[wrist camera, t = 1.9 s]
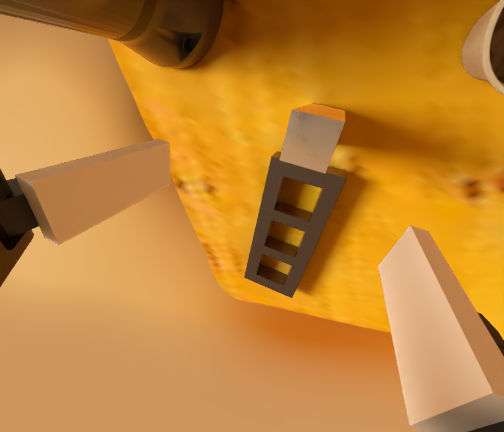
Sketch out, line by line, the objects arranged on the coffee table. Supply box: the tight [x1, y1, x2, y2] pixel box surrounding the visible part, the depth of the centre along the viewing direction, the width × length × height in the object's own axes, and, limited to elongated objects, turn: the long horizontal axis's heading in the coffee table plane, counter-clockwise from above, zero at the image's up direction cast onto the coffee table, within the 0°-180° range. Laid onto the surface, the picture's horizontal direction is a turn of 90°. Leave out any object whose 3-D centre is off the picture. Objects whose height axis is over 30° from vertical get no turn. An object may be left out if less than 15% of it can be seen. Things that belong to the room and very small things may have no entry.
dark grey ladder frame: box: [244, 152, 346, 298], centre depth 36 cm, size 25×10×3 cm, turn 167°
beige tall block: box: [280, 103, 345, 173], centre depth 22 cm, size 4×4×13 cm
